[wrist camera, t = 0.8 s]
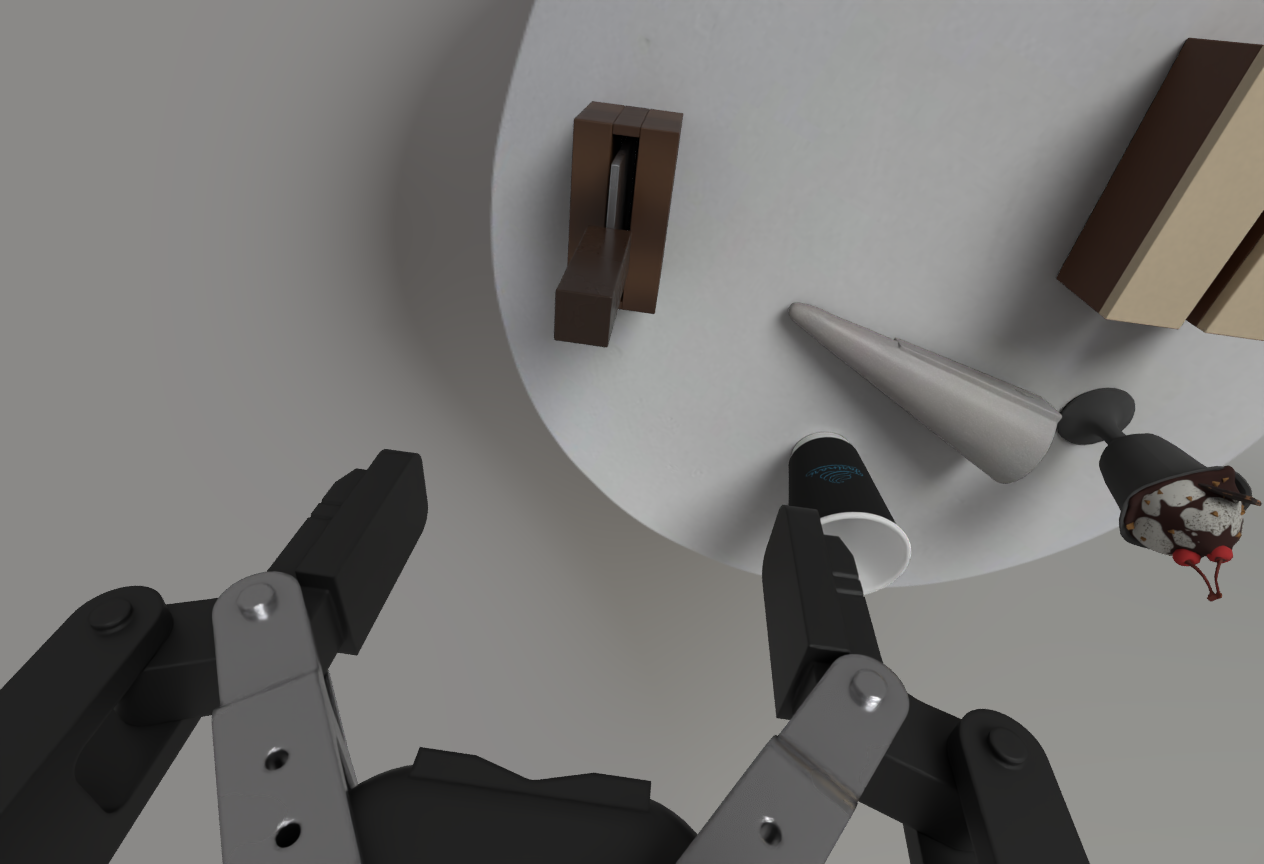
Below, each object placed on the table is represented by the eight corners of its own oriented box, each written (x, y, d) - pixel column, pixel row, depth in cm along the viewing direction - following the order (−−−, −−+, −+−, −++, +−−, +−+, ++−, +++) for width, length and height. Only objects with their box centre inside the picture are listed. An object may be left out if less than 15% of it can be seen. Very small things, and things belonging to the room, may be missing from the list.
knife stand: (591, 100, 35) (573, 117, 31) (683, 113, 35) (679, 132, 30) (582, 265, 41) (565, 302, 36) (660, 276, 41) (654, 314, 36)
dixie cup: (808, 507, 52) (829, 613, 43) (751, 451, 49) (761, 552, 40) (893, 461, 48) (935, 566, 39) (836, 397, 45) (868, 495, 36)
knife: (617, 123, 36) (557, 212, 21) (653, 128, 36) (619, 220, 21) (606, 254, 41) (551, 400, 26) (638, 259, 41) (602, 407, 26)
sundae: (1050, 463, 47) (1170, 627, 35) (1038, 397, 44) (1166, 551, 32) (1150, 436, 45) (1315, 600, 33) (1145, 363, 41) (1327, 516, 29)
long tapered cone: (753, 393, 41) (1008, 499, 42) (798, 308, 38) (1073, 424, 39) (751, 363, 46) (979, 458, 47) (791, 286, 43) (1034, 388, 44)
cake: (1187, 37, 31) (1276, 46, 26) (1376, 62, 31) (1501, 75, 26) (1055, 278, 39) (1105, 319, 34) (1206, 299, 39) (1278, 343, 34)
